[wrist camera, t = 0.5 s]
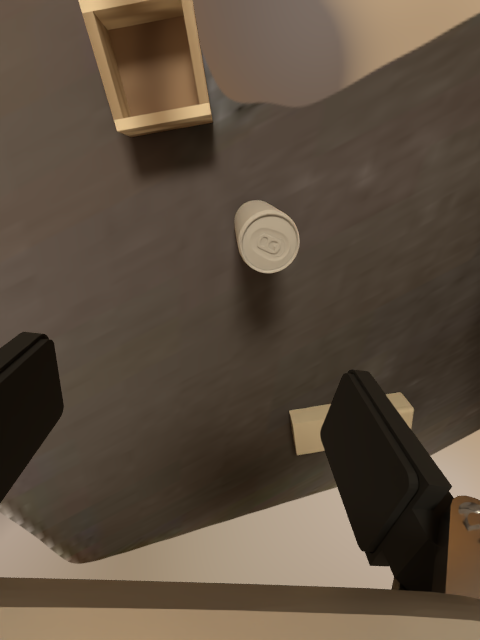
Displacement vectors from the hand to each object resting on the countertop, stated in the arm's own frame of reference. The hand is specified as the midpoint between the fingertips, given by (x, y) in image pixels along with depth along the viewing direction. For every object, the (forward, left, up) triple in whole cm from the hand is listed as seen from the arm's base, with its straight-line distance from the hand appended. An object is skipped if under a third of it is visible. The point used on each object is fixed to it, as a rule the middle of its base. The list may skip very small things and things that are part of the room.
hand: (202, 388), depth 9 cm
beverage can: (-4, -1, -26) cm, 27 cm away
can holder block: (+3, -15, -26) cm, 30 cm away
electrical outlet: (-15, +32, -27) cm, 44 cm away
